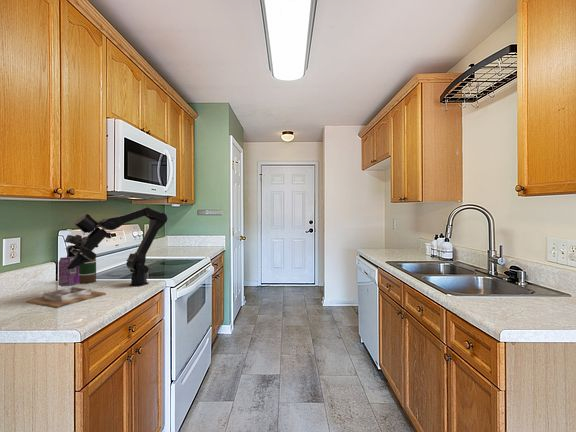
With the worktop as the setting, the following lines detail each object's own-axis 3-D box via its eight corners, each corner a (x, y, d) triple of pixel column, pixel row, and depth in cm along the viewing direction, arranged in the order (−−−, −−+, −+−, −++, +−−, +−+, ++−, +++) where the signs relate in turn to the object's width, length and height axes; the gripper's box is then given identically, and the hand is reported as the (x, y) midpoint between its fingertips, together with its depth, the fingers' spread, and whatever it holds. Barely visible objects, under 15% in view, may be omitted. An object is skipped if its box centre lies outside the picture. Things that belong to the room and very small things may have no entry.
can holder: (76, 290, 143) (76, 283, 143) (105, 294, 135) (105, 287, 135) (26, 302, 124) (26, 295, 124) (57, 307, 117) (57, 300, 117)
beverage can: (81, 284, 132) (81, 256, 133) (75, 285, 125) (75, 256, 126) (62, 285, 130) (62, 257, 131) (55, 287, 123) (55, 257, 124)
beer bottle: (85, 284, 154) (84, 237, 153) (75, 283, 157) (74, 237, 156) (99, 281, 161) (99, 236, 161) (89, 280, 164) (89, 235, 163)
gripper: (70, 227, 137) (40, 254, 128) (87, 228, 126) (55, 258, 117) (90, 242, 143) (63, 270, 135) (107, 245, 132) (79, 275, 124)
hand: (64, 268), depth 127 cm, fingers closed on beverage can, 7 cm apart
